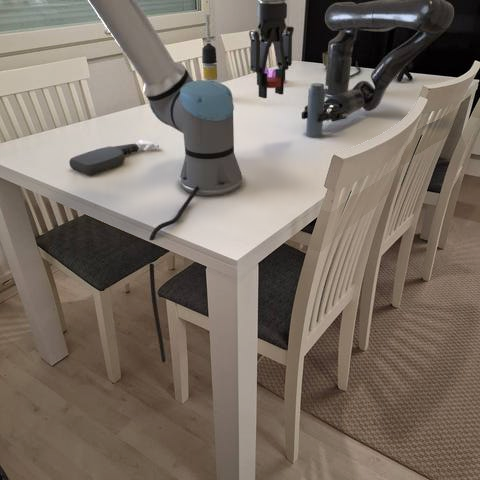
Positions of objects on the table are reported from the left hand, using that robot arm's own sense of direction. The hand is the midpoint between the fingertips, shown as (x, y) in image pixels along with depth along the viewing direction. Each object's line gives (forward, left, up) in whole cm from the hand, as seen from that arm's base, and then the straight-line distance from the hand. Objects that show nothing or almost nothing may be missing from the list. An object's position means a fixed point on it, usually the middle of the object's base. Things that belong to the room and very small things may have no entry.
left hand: (271, 95), depth 125 cm
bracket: (+75, +20, -15) cm, 79 cm away
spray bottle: (-24, +38, -15) cm, 47 cm away
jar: (+13, -11, -15) cm, 22 cm away
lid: (0, 0, +4) cm, 4 cm away
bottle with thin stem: (+44, +37, -15) cm, 60 cm away
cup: (+110, +2, -15) cm, 112 cm away
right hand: (+10, -10, -9) cm, 16 cm away
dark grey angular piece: (+97, -32, -15) cm, 103 cm away
